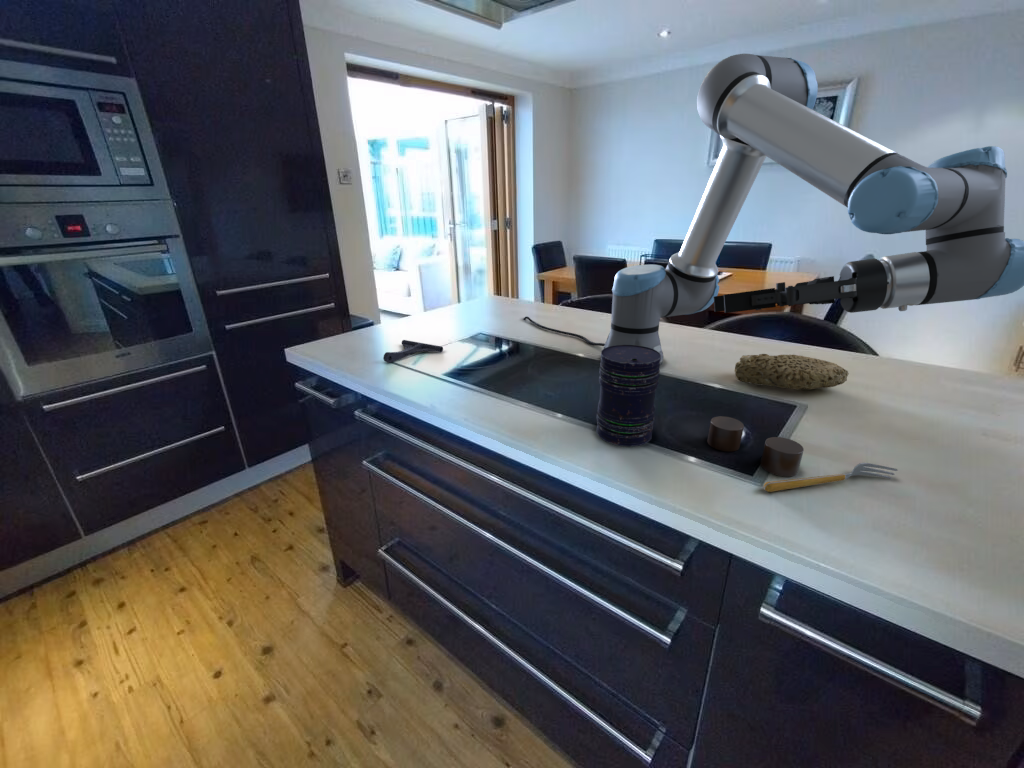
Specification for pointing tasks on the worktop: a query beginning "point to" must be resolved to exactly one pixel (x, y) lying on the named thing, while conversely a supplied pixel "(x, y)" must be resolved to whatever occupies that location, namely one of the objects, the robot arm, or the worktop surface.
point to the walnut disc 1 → (725, 433)
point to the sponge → (789, 371)
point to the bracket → (410, 350)
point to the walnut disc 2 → (781, 456)
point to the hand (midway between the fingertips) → (718, 304)
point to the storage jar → (627, 394)
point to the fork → (827, 478)
